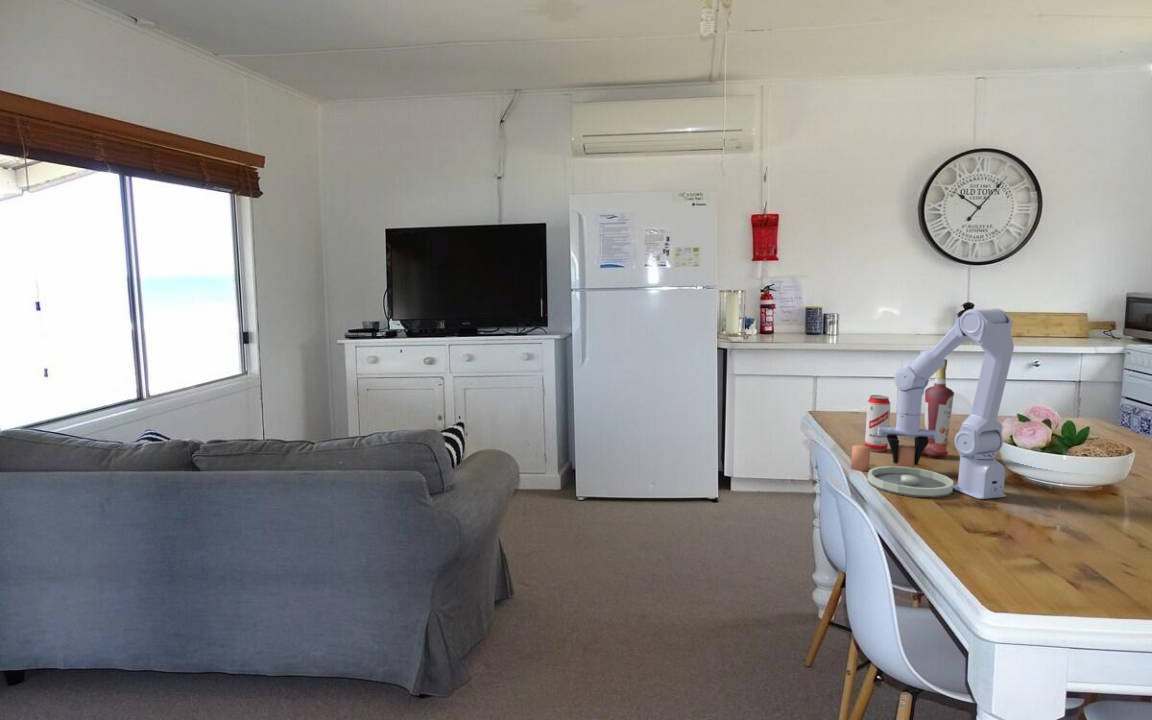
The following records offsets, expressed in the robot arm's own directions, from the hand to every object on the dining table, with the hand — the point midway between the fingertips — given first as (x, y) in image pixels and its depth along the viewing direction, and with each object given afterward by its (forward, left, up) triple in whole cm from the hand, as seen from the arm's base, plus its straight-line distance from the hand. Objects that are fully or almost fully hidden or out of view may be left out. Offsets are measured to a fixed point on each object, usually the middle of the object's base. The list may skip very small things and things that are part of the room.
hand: (905, 463), depth 192 cm
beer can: (+20, -7, -2) cm, 21 cm away
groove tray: (-12, +9, -2) cm, 15 cm away
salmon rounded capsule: (0, 0, -1) cm, 1 cm away
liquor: (+10, -19, -2) cm, 22 cm away
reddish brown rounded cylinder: (+4, +11, -2) cm, 12 cm away
